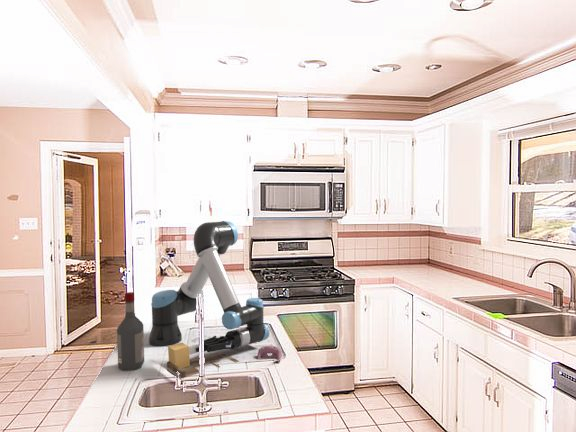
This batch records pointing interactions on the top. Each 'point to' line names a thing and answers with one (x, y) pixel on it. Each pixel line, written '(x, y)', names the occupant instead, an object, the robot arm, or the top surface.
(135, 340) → the liquor
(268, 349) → the pink arch block
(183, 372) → the trap box
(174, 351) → the ochre block
